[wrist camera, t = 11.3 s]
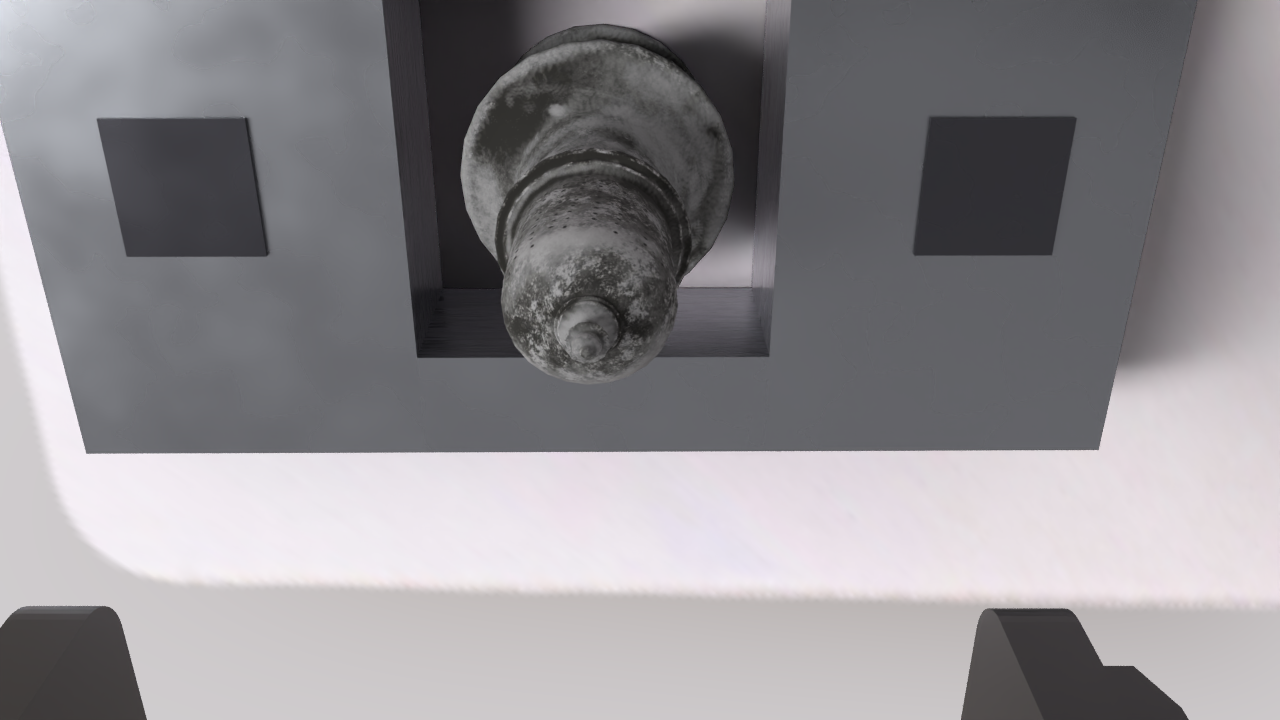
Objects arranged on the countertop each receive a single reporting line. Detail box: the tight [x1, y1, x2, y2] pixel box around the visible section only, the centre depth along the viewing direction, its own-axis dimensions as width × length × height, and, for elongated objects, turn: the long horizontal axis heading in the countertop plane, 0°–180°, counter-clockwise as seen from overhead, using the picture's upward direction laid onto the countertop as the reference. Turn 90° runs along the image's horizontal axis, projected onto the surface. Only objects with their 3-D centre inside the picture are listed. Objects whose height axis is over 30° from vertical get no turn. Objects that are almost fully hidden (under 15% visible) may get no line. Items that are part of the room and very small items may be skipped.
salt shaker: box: [460, 24, 734, 384], centre depth 22 cm, size 6×6×12 cm
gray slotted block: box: [0, 0, 1197, 454], centre depth 25 cm, size 24×13×4 cm, turn 90°
